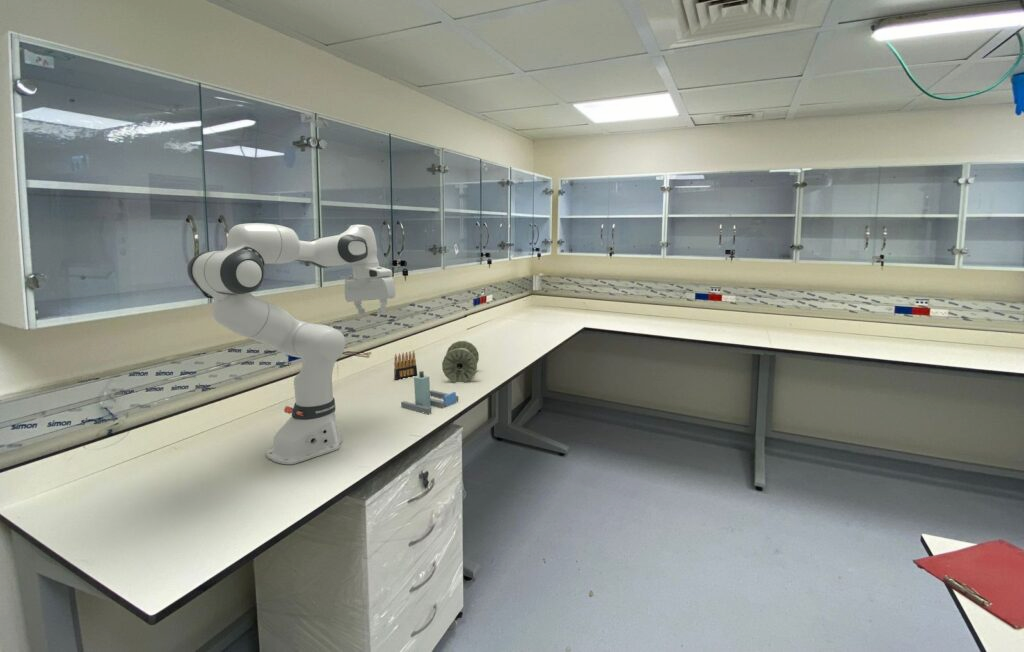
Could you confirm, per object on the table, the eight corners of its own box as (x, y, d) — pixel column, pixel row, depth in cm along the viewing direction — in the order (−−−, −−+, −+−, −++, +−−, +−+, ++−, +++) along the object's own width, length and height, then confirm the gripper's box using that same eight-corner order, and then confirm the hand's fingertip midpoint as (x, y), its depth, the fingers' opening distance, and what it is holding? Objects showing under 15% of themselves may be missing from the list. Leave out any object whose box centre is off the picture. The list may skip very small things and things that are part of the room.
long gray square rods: (428, 414, 188) (428, 404, 187) (401, 407, 196) (400, 397, 195) (458, 401, 202) (458, 391, 201) (432, 394, 210) (431, 385, 209)
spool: (477, 382, 225) (476, 349, 222) (442, 383, 225) (441, 349, 222) (478, 371, 241) (478, 340, 238) (446, 372, 241) (445, 341, 238)
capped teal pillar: (423, 409, 193) (421, 373, 190) (415, 407, 195) (413, 372, 192) (430, 406, 196) (429, 371, 193) (422, 404, 198) (421, 369, 195)
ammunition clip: (415, 374, 237) (414, 349, 235) (417, 375, 236) (416, 350, 234) (394, 379, 231) (392, 353, 229) (396, 380, 229) (394, 354, 227)
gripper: (337, 276, 177) (343, 316, 178) (382, 271, 167) (388, 313, 168) (351, 275, 182) (356, 313, 184) (395, 270, 172) (400, 311, 174)
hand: (371, 313), depth 176 cm, fingers open, 8 cm apart
